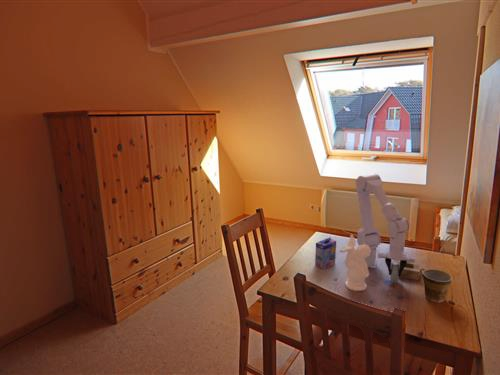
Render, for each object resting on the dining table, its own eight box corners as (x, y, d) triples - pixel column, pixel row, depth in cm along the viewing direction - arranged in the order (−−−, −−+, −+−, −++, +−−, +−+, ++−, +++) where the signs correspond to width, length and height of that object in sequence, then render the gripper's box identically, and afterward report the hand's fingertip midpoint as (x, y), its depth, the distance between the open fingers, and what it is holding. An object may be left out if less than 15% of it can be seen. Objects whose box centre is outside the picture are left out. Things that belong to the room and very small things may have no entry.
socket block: (396, 276, 143) (397, 268, 142) (396, 267, 151) (397, 259, 150) (419, 280, 140) (419, 271, 139) (417, 270, 148) (418, 262, 147)
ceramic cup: (455, 302, 123) (458, 278, 121) (434, 307, 120) (437, 283, 118) (428, 285, 135) (430, 264, 133) (409, 289, 132) (411, 267, 130)
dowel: (390, 282, 139) (391, 265, 137) (390, 278, 142) (391, 262, 140) (398, 283, 138) (399, 266, 136) (398, 279, 140) (399, 263, 139)
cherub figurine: (372, 291, 132) (375, 242, 127) (344, 295, 130) (347, 246, 125) (356, 277, 144) (359, 231, 138) (331, 280, 141) (333, 234, 136)
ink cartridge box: (323, 269, 151) (324, 241, 148) (314, 265, 156) (314, 238, 152) (336, 263, 157) (337, 236, 154) (327, 259, 162) (327, 233, 158)
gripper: (378, 247, 135) (376, 276, 138) (416, 252, 129) (413, 282, 133) (378, 241, 142) (377, 268, 145) (415, 245, 136) (412, 274, 139)
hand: (394, 274), depth 139 cm, fingers closed on dowel, 3 cm apart
